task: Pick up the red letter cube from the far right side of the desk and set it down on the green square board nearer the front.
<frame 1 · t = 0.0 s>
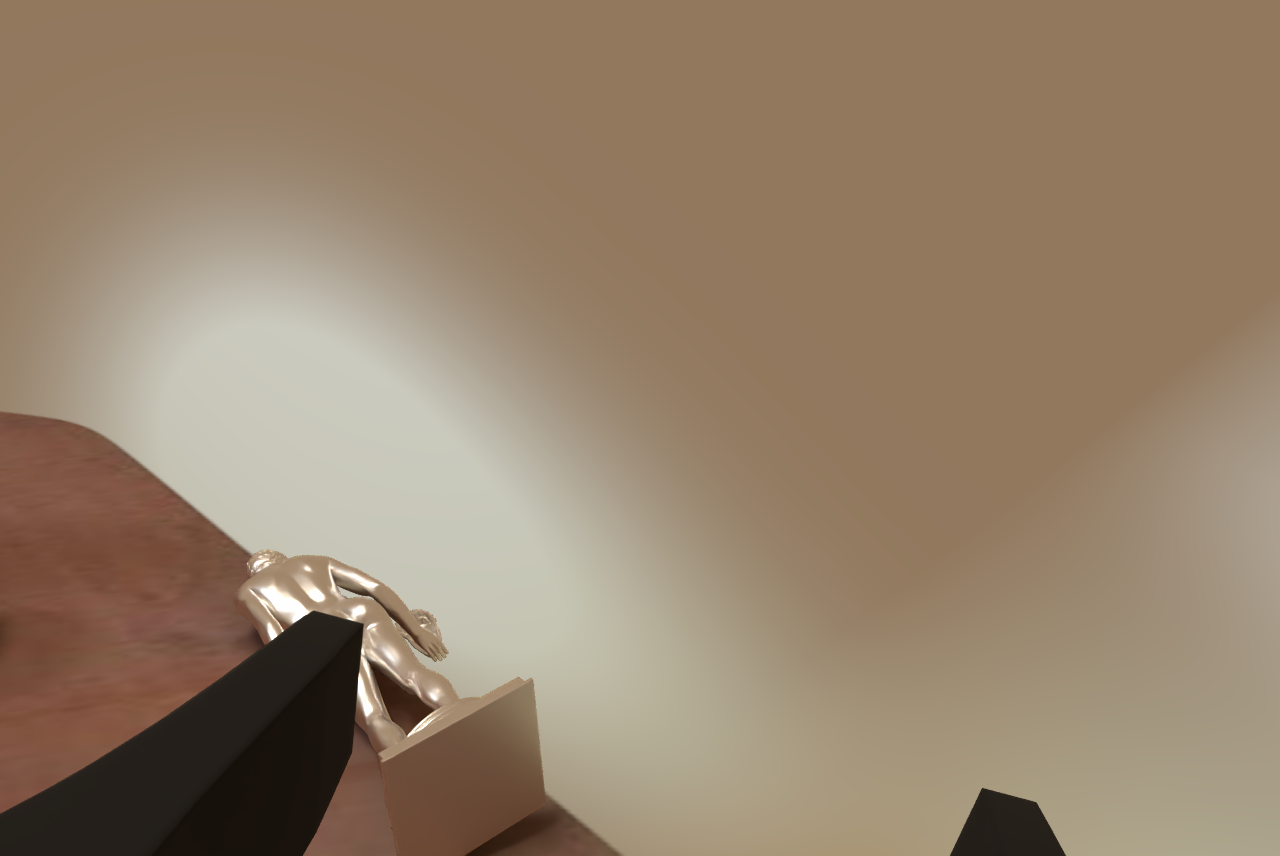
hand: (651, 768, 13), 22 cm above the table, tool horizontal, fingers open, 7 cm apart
figurine: (498, 776, 38), point 4 cm above the table
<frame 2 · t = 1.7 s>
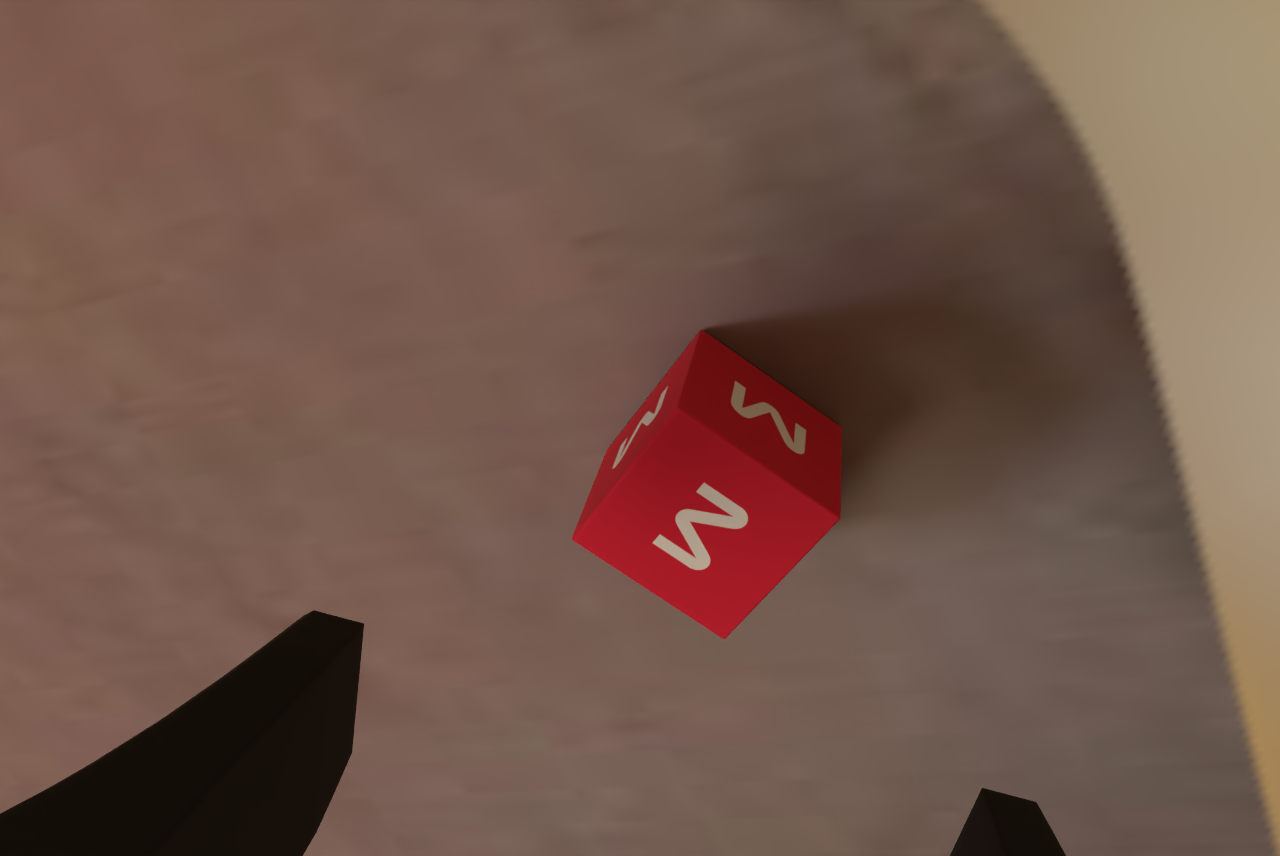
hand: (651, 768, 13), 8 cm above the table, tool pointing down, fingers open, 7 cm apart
red letter cube: (722, 433, 20), on the table
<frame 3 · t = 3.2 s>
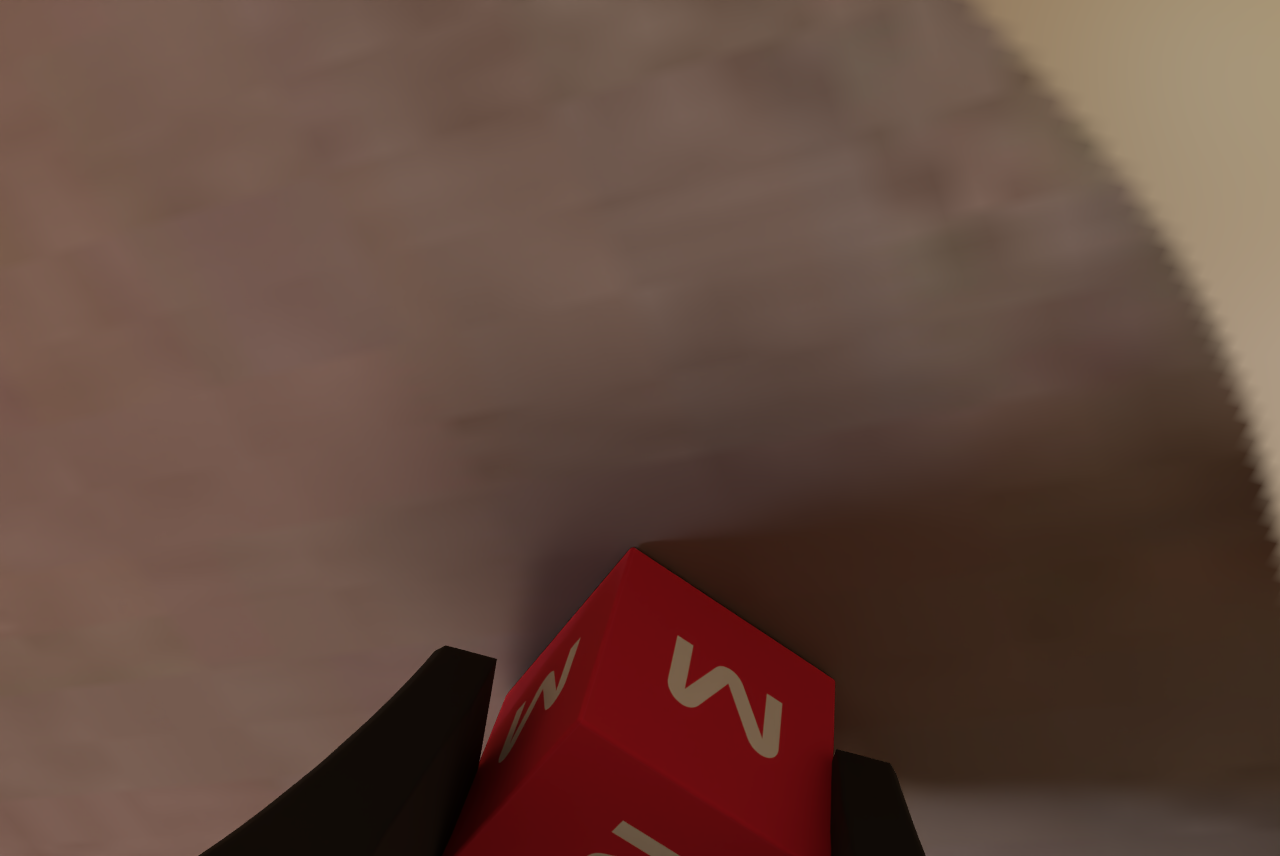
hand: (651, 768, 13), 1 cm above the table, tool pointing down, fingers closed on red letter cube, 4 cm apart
red letter cube: (667, 677, 14), on the table, touching gripper
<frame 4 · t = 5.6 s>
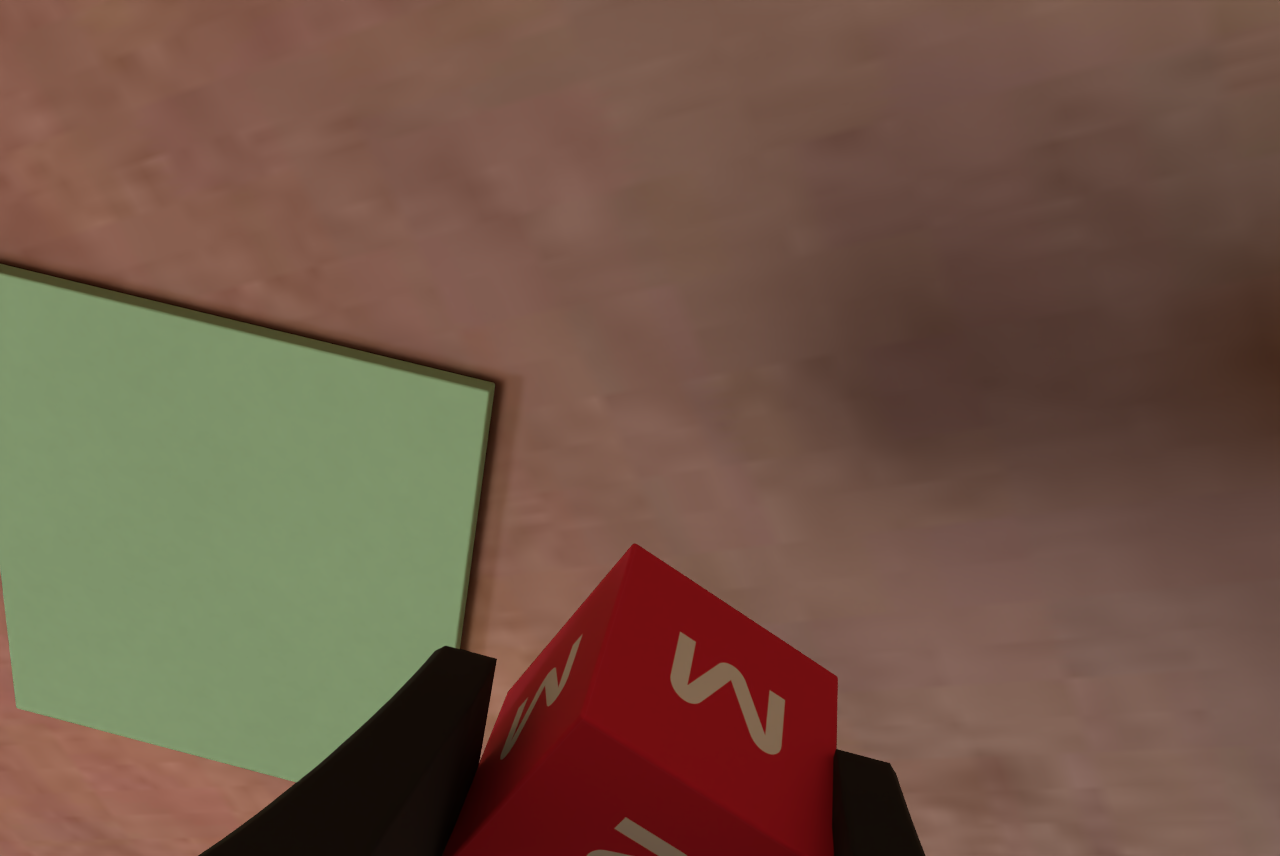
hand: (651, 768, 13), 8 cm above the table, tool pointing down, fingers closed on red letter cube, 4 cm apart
green square board: (231, 559, 24), on the table
red letter cube: (669, 673, 14), point 7 cm above the table, touching gripper
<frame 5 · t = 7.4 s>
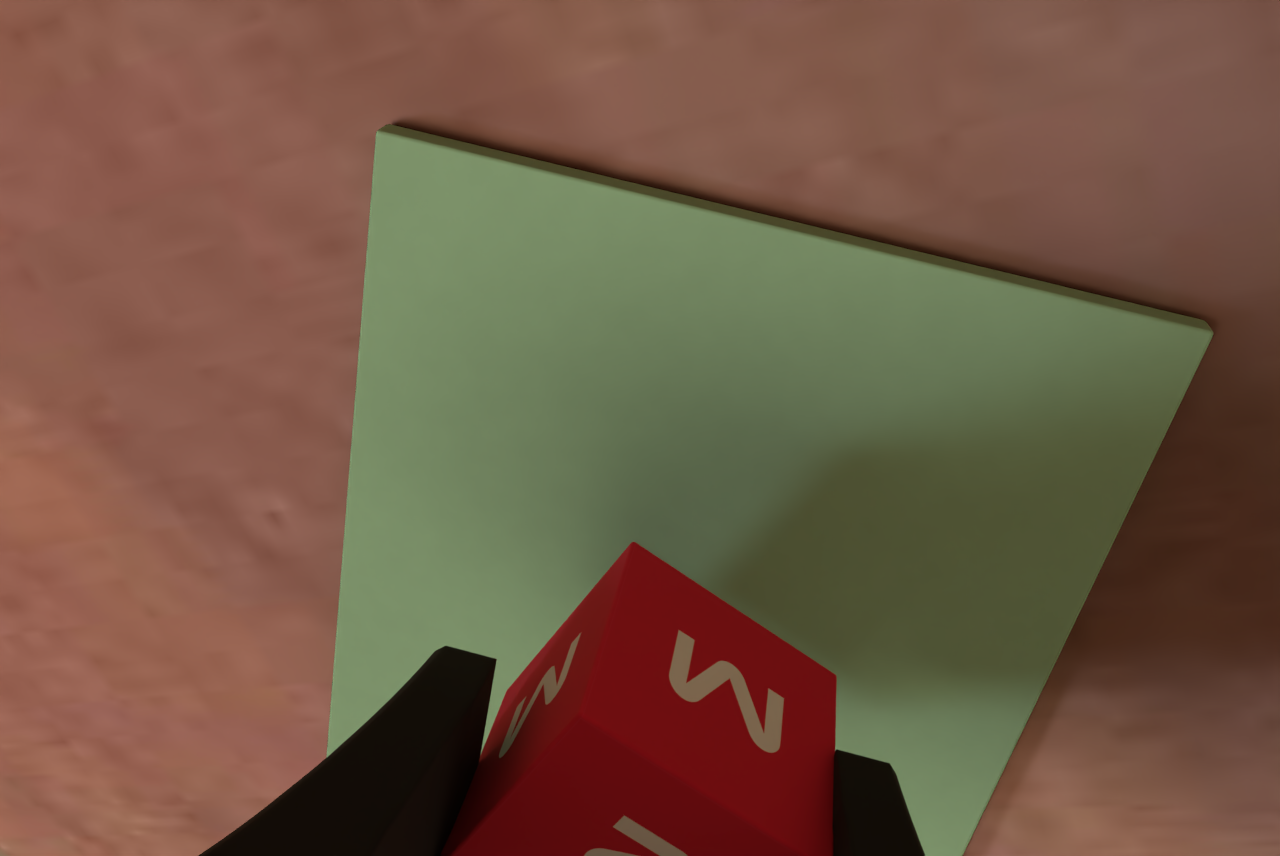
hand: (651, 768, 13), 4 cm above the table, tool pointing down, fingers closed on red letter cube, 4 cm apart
green square board: (691, 584, 16), on the table
red letter cube: (668, 672, 14), point 2 cm above the table, touching gripper
when the fingers open (2 cm above the table, at t = 8.4 s): red letter cube stays where it is, resting on green square board.
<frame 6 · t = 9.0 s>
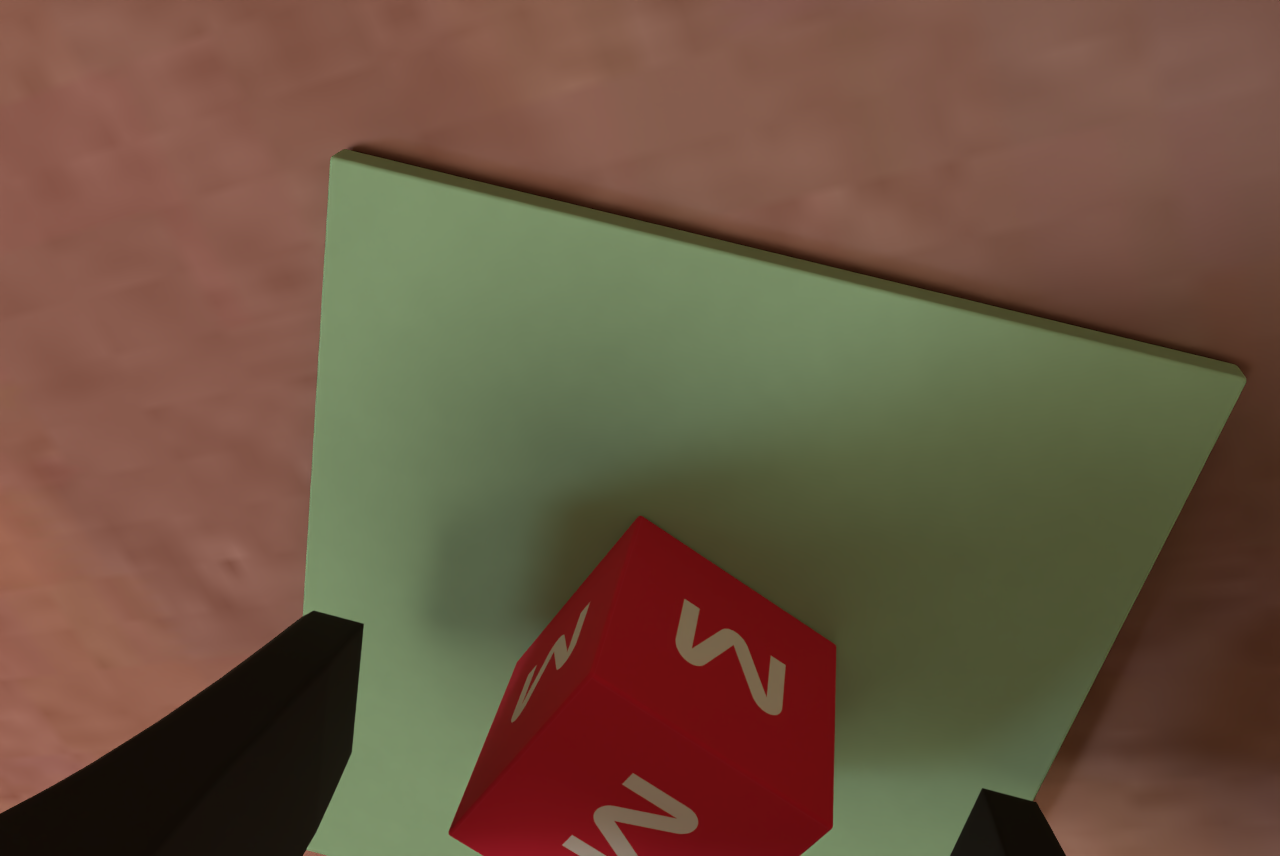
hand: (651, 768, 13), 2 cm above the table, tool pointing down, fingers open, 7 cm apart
green square board: (677, 639, 15), on the table
red letter cube: (673, 644, 15), resting on green square board
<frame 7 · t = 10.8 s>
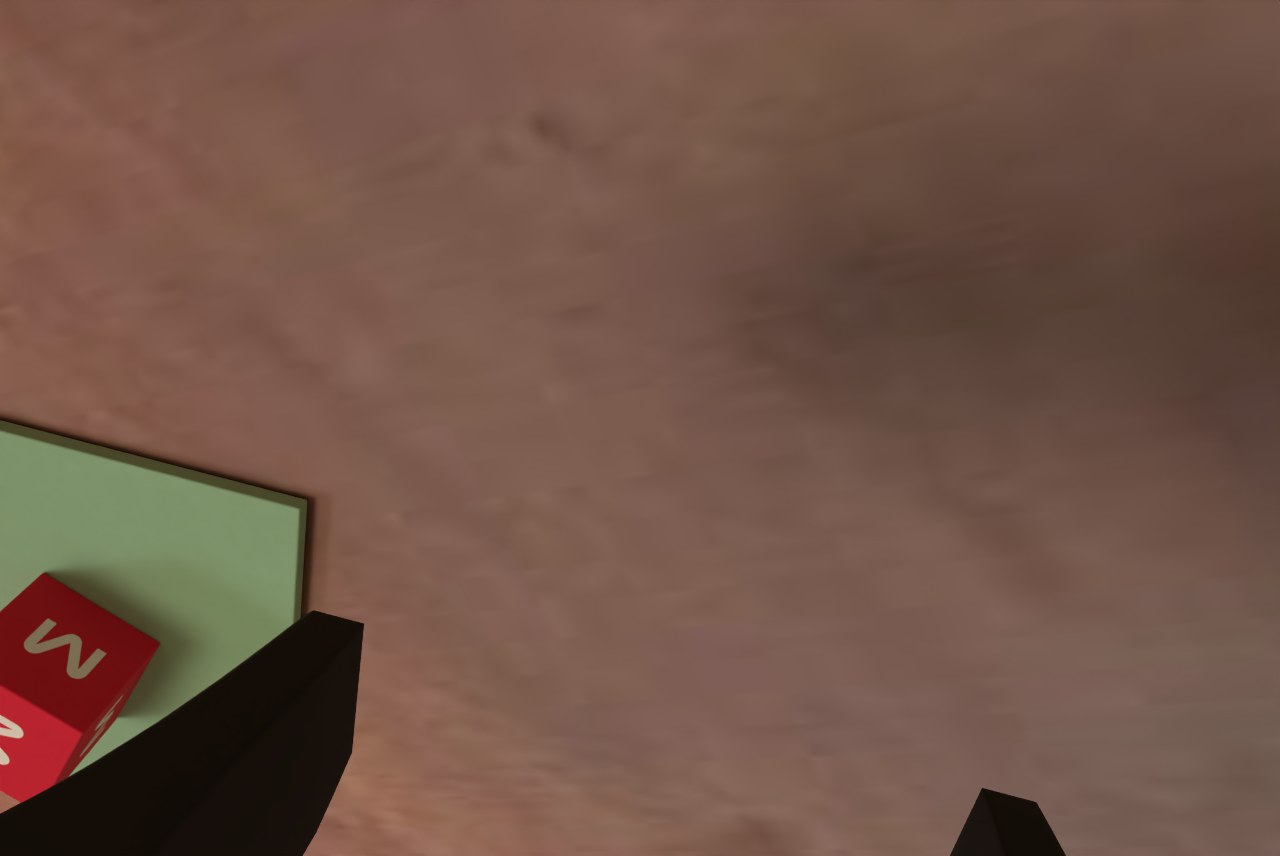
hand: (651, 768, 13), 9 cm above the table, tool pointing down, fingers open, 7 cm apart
green square board: (93, 640, 27), on the table
red letter cube: (86, 642, 27), resting on green square board
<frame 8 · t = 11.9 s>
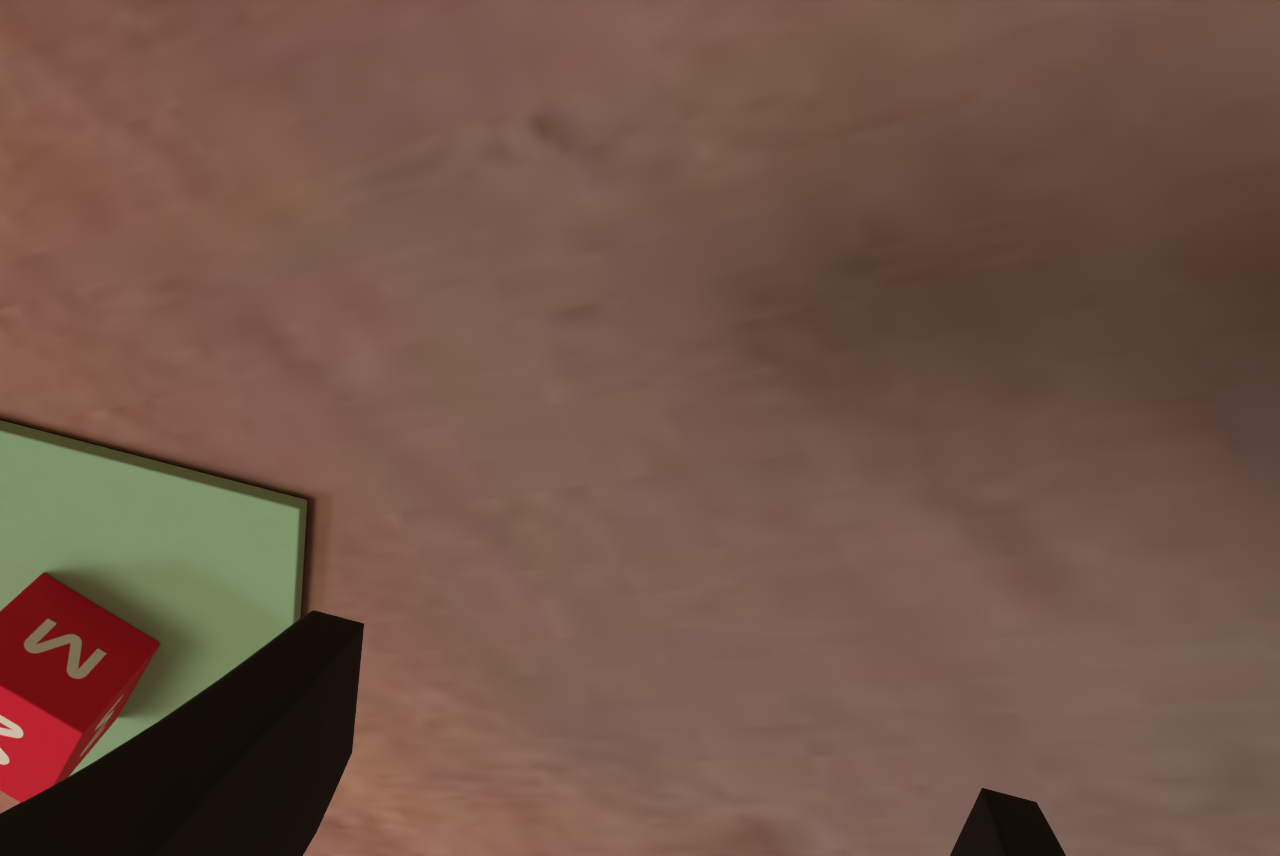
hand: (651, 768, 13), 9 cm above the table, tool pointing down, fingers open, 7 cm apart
green square board: (93, 640, 27), on the table
red letter cube: (86, 642, 27), resting on green square board
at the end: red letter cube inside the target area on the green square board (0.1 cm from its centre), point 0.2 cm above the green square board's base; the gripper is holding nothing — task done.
